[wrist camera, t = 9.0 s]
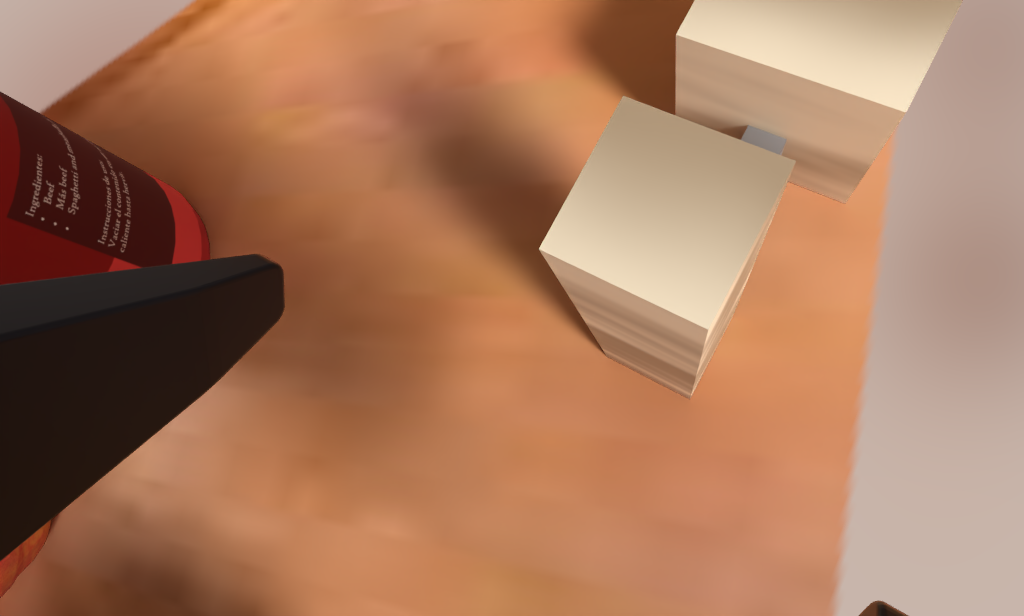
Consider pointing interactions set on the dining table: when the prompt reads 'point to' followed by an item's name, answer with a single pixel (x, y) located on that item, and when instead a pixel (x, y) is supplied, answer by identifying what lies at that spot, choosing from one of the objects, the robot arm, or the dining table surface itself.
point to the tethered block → (730, 164)
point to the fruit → (21, 558)
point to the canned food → (82, 206)
